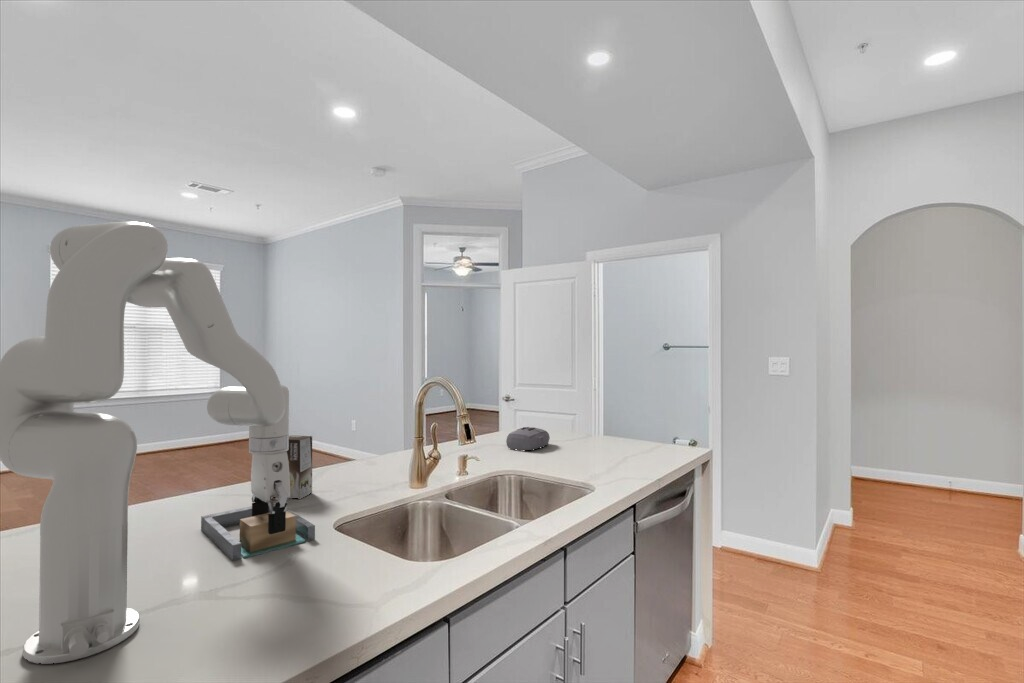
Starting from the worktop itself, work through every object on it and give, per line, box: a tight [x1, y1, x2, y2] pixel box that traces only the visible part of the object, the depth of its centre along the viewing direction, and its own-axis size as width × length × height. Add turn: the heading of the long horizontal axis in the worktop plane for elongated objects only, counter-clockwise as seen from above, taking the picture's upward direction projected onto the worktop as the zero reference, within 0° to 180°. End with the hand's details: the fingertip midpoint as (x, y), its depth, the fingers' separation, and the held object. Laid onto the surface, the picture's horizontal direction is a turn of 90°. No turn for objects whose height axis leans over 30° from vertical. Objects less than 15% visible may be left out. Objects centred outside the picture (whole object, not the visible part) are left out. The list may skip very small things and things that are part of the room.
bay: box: [200, 502, 316, 562], centre depth 112 cm, size 23×16×3 cm
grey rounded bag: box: [505, 426, 550, 451], centre depth 212 cm, size 15×8×20 cm
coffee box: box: [286, 434, 313, 500], centre depth 142 cm, size 9×6×16 cm
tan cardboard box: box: [239, 511, 296, 552], centre depth 107 cm, size 6×9×5 cm, turn 136°
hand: (268, 526), depth 107 cm, fingers open, 9 cm apart
